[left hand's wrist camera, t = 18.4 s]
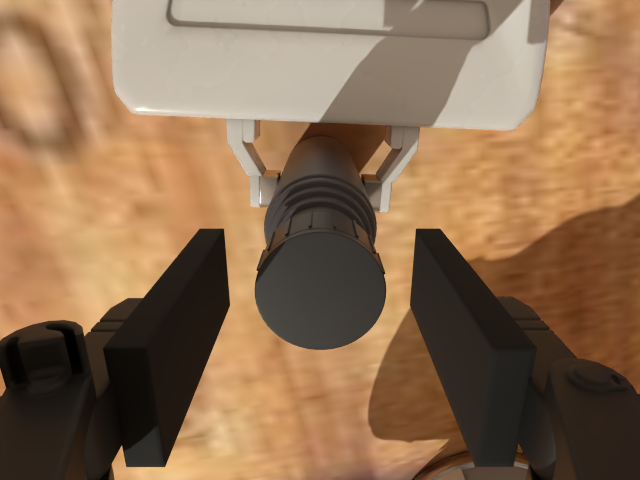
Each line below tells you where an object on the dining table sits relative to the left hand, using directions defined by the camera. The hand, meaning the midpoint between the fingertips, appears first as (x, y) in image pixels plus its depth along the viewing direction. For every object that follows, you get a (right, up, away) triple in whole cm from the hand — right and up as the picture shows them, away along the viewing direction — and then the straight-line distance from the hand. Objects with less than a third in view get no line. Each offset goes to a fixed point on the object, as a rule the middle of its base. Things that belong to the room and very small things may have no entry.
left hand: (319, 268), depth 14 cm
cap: (0, -1, -1) cm, 1 cm away
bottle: (0, +6, +15) cm, 16 cm away
